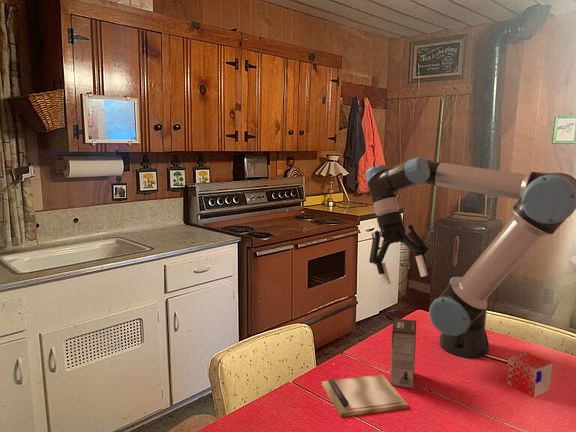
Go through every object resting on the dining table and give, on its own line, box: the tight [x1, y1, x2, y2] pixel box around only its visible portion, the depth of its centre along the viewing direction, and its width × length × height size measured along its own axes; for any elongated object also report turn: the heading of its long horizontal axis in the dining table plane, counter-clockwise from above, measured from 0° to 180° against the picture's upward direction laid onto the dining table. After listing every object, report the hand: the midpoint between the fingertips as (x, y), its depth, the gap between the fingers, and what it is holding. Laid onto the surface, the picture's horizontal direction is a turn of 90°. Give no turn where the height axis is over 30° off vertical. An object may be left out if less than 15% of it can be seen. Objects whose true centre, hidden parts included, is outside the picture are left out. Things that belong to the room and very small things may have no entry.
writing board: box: [321, 374, 409, 418], centre depth 120 cm, size 18×15×3 cm
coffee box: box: [389, 318, 417, 389], centre depth 128 cm, size 9×6×16 cm
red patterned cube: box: [505, 351, 553, 398], centre depth 125 cm, size 8×8×8 cm
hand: (406, 280), depth 139 cm, fingers open, 13 cm apart
